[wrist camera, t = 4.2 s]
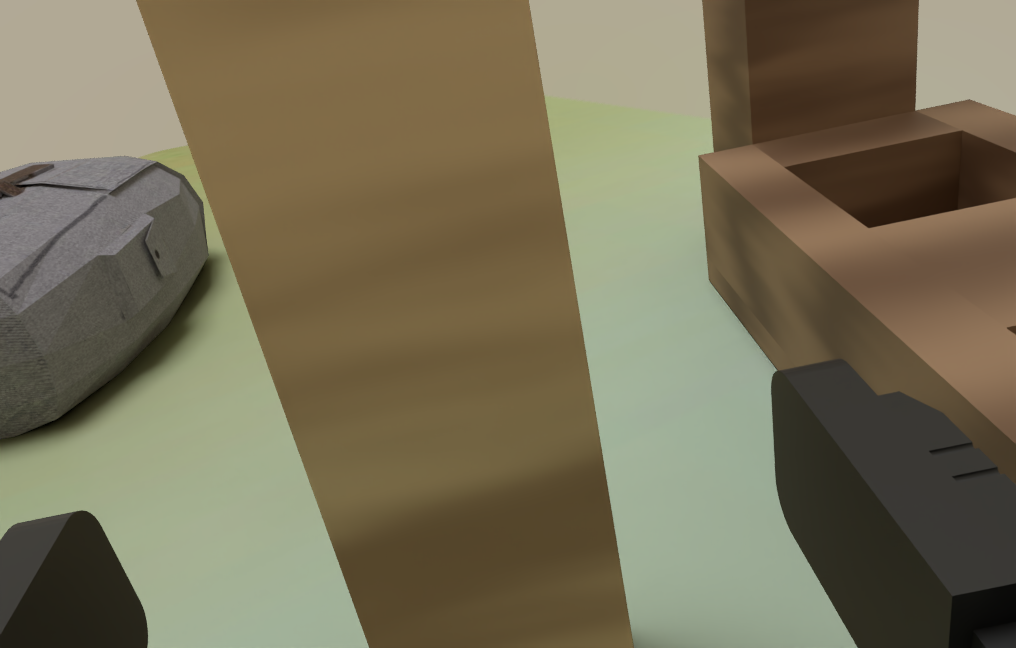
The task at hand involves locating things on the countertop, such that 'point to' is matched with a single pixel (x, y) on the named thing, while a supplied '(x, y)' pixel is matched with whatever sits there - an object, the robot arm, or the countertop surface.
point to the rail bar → (411, 302)
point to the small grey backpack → (87, 276)
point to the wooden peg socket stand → (862, 208)
